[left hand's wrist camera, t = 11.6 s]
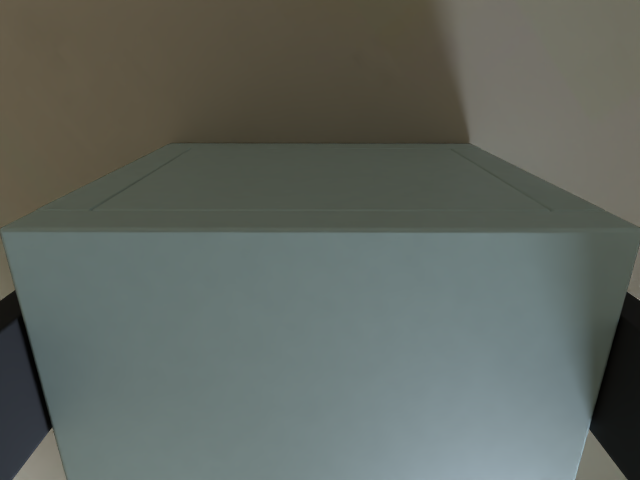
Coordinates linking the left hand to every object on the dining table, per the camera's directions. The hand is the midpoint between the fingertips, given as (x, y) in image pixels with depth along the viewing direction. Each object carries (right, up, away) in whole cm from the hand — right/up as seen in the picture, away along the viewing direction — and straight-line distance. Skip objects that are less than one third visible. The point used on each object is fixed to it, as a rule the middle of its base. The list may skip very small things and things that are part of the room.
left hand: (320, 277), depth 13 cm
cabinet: (0, -4, +7) cm, 8 cm away
